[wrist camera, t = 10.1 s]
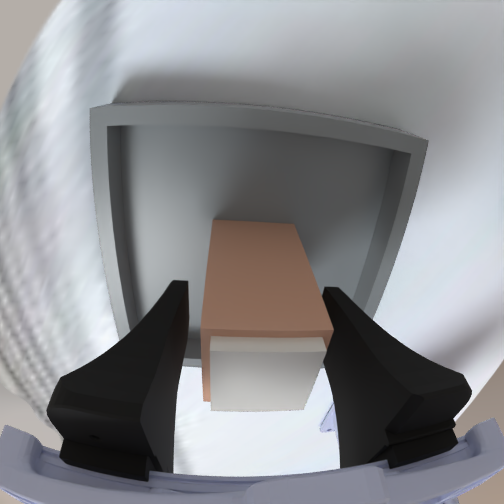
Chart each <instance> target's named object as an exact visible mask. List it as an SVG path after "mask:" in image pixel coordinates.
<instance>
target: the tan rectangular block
mask: <svg viewBox="0 0 504 504" xmlns="http://www.w3.org/2000/svg"><path fill="white" fill-rule="evenodd" d="M333 331H334V329H333V326H332V323H331V320H330V318H329V315H328V312H327V309H326V306H325V304H324V301H323V298H322V296H321V293H320V290H319V287H318V285H317V282H316V279H315V277H314V274H313V271H312V269H311V266H310V264H309V261H308V258H307V256H306V253H305V251H304V248H303V245H302V243H301V240H300V238H299V235H298V233H297V230H296V228H295V225H294V224H287V223H270V222H252V221H233V220H213V221H212V229H211V237H210V245H209V253H208V261H207V270H206V279H205V288H204V297H203V306H202V316H201V326H200V334H201V362H202V383H203V401H208V402H211V411H238V412H258V411H291V410H304V408H305V405H306V403H307V400H308V398H309V396H310V393H311V391H312V388H313V386H314V383H315V381H316V378H317V376H318V373H319V370H320V368H321V365H322V363H323V360H324V357H325V355H326V352H327V348H328V345H329V342H330V340H331V337H332V334H333Z"/></svg>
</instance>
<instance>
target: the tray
mask: <svg viewBox="0 0 504 504" xmlns="http://www.w3.org/2000/svg"><path fill="white" fill-rule="evenodd" d="M427 146H428V140H426V139H423V138H421V137H418V136H416V135H413V134H411V133H408V132H405V131H403V130H399V129H395V128H391V127H386V126H382V125H378V124H373V123H369V122H364V121H359V120H354V119H349V118H344V117H339V116H333V115H327V114H321V113H315V112H308V111H301V110H294V109H286V108H277V107H268V106H258V105H247V104H233V103H216V102H184V101H159V102H127V103H111V104H106V105H102V106H98V107H94V108H90V148H91V166H92V180H93V192H94V202H95V211H96V220H97V227H98V235H99V242H100V248H101V254H102V260H103V266H104V272H105V277H106V282H107V288H108V293H109V297H110V302H111V307H112V311H113V315H114V320H115V324H116V328H117V332H118V336H119V340H121V339H122V338H123V337H125V336H126V335H127V334H128V333H129V332H130V331H131V330H132V329H133V328H134V327H135V326H136V325H137V324H138V323H139V322H140V321H141V320H142V319H143V317H144V316H145V315H146V314H147V313H148V312H149V311H150V309H151V308H152V307H153V306H154V304H155V303H156V302H157V301H158V299H159V298H160V297H161V295H162V294H163V293H164V291H165V290H166V288H167V287H168V285H169V284H170V282H171V281H173V280H185V281H188V284H189V316H190V320H189V331H188V341H187V346H186V350H185V355H184V360H183V365H182V366H186V367H202V362H201V334H200V326H201V316H202V306H203V297H204V288H205V279H206V270H207V261H208V253H209V245H210V237H211V229H212V221H213V220H233V221H252V222H270V223H287V224H294V225H295V228H296V230H297V233H298V235H299V238H300V240H301V243H302V245H303V248H304V251H305V253H306V256H307V258H308V261H309V264H310V266H311V269H312V271H313V274H314V277H315V279H316V282H317V285H318V287H319V290H320V293H321V296H322V294H323V290H324V287H339V288H340V289H341V290H342V291H343V292H344V293H345V294H346V295H347V296H348V297H349V298H350V299H351V300H352V301H353V302H354V303H355V304H356V305H357V306H359V307H360V308H361V309H362V310H363V311H364V312H365V313H366V314H367V315H368V316H369V317H370V318H371V319H372V320H373V317H374V315H375V313H376V310H377V308H378V305H379V303H380V300H381V298H382V295H383V293H384V290H385V287H386V285H387V282H388V279H389V277H390V274H391V271H392V268H393V266H394V263H395V260H396V257H397V254H398V251H399V248H400V245H401V242H402V239H403V236H404V233H405V230H406V226H407V223H408V220H409V216H410V213H411V210H412V206H413V203H414V199H415V195H416V192H417V188H418V184H419V180H420V176H421V172H422V168H423V164H424V159H425V155H426V151H427ZM321 368H325V367H324V363H322V365H321Z"/></svg>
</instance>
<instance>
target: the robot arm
mask: <svg viewBox="0 0 504 504" xmlns="http://www.w3.org/2000/svg"><path fill="white" fill-rule="evenodd" d="M322 298H323V301H324V304H325V306H326V309H327V312H328V315H329V318H330V320H331V323H332V326H333V329H334V331H333V334H332V337H331V340H330V342H329V345H328V348H327V352H326V355H325V357H324V360H323V363H324V367H325V370H326V373H327V376H328V380H329V383H330V387H331V391H332V395H333V401H334V404H333V405H332V407H331V409H330V411H329V413H328V414H327V416H326V418H325V420H324V422H323V423H322V425H321V427H320V432H332V431H335V433H336V437H337V441H338V445H339V451H340V469H335V470H328V471H321V472H313V473H303V474H292V475H279V476H256V477H221V476H198V475H185V474H174V473H173V459H174V431H175V414H176V401H177V391H178V384H179V379H180V374H181V369H182V365H183V360H184V355H185V350H186V346H187V341H188V331H189V320H190V316H189V284H188V281H185V280H173V281H171V282H170V284H169V285H168V287H167V288H166V290H165V291H164V293H163V294H162V295H161V297H160V298H159V299H158V301H157V302H156V303H155V304H154V306H153V307H152V308H151V309H150V311H149V312H148V313H147V314H146V315H145V316H144V317H143V319H142V320H141V321H140V322H139V323H138V324H137V325H136V326H135V327H134V328H133V329H132V330H131V331H130V332H129V333H128V334H127V335H126V336H125V337H123V338H122V339H121V340H120V341H119V342H118V343H116V344H115V345H114V346H113V347H111V348H110V349H109V350H107V351H106V352H105V353H103V354H102V355H100V356H99V357H97V358H96V359H94V360H93V361H91V362H89V363H88V364H86V365H84V366H82V367H81V368H79V369H77V370H75V371H73V372H71V373H69V374H67V375H64V376H62V377H61V378H60V380H59V382H58V383H57V385H56V387H55V389H54V391H53V394H52V397H51V399H50V402H49V405H48V407H47V415H48V417H49V419H50V421H51V422H52V424H53V425H54V426H55V428H56V429H57V430H58V431H59V433H60V434H61V435H62V436H63V438H64V440H63V444H62V447H61V451H58V450H55V449H51V448H48V447H45V446H42V444H41V443H40V441H39V440H38V439H37V438H36V437H34V436H33V435H31V434H29V433H26V432H24V431H21V430H18V429H16V428H13V427H11V426H8V425H5V426H4V429H3V431H2V434H1V437H0V489H1V490H3V491H4V492H6V493H7V494H9V495H10V496H12V497H14V498H15V499H17V500H19V501H20V502H22V503H24V504H459V501H458V498H457V496H459V495H461V494H463V493H465V492H467V491H469V490H471V489H473V488H475V487H477V486H479V485H480V484H482V483H483V482H485V481H486V480H488V479H489V478H491V477H492V476H493V475H495V474H496V473H497V472H499V471H500V470H502V469H503V468H504V436H503V434H502V432H501V430H500V428H499V426H498V424H497V422H496V420H495V418H490V419H488V420H486V421H483V422H481V423H479V424H477V425H475V426H474V427H472V428H471V429H470V430H469V431H468V432H467V433H466V435H465V436H462V437H459V438H456V436H455V433H454V431H453V429H452V428H454V427H455V425H456V424H455V421H454V419H453V418H454V417H455V416H456V415H457V414H458V413H459V412H460V410H461V409H462V408H463V407H464V406H465V405H466V404H467V402H468V401H469V399H470V397H471V395H472V390H471V388H470V386H469V384H468V382H467V381H466V379H465V377H464V375H463V374H461V373H458V372H456V371H453V370H450V369H448V368H445V367H443V366H441V365H439V364H437V363H434V362H432V361H430V360H428V359H427V358H425V357H423V356H421V355H419V354H418V353H416V352H414V351H413V350H411V349H409V348H408V347H406V346H405V345H403V344H402V343H401V342H399V341H398V340H397V339H395V338H394V337H392V336H391V335H390V334H389V333H387V332H386V331H385V330H384V329H383V328H381V327H380V326H379V325H378V324H377V323H376V322H374V321H373V320H372V319H371V318H370V317H369V316H368V315H367V314H366V313H365V312H364V311H363V310H362V309H361V308H360V307H359V306H357V305H356V304H355V303H354V302H353V301H352V300H351V299H350V298H349V297H348V296H347V295H346V294H345V293H344V292H343V291H342V290H341V289H340V288H339V287H324V290H323V294H322Z"/></svg>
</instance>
